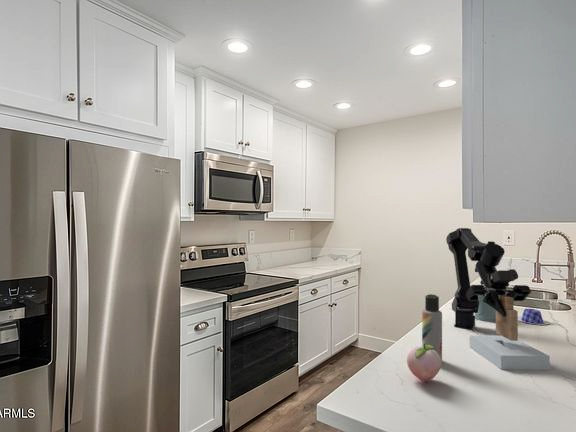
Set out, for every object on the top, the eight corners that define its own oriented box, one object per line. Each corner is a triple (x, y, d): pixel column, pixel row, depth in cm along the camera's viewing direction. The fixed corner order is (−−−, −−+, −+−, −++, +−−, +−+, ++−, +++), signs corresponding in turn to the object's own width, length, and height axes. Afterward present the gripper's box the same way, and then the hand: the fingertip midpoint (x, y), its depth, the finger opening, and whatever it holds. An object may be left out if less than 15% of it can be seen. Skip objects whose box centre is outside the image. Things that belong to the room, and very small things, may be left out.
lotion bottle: (441, 358, 110) (441, 294, 111) (442, 365, 105) (442, 297, 105) (421, 355, 112) (421, 292, 113) (422, 362, 107) (422, 296, 107)
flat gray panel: (469, 347, 120) (469, 335, 120) (510, 347, 120) (510, 335, 120) (500, 369, 102) (500, 355, 102) (549, 369, 102) (549, 355, 102)
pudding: (556, 326, 146) (556, 313, 146) (525, 325, 147) (525, 313, 147) (538, 318, 158) (538, 306, 158) (510, 317, 159) (509, 306, 159)
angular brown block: (495, 332, 115) (495, 294, 116) (501, 332, 115) (501, 294, 116) (511, 340, 107) (510, 299, 108) (517, 340, 107) (517, 299, 108)
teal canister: (501, 319, 155) (501, 292, 156) (495, 324, 148) (495, 295, 148) (476, 315, 162) (476, 288, 162) (469, 319, 155) (469, 292, 155)
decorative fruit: (414, 371, 101) (414, 336, 101) (444, 379, 96) (444, 342, 96) (401, 382, 93) (401, 344, 94) (433, 392, 88) (433, 352, 88)
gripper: (470, 260, 116) (489, 301, 105) (527, 260, 116) (552, 302, 104) (458, 280, 123) (475, 320, 112) (512, 280, 123) (534, 321, 112)
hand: (509, 316), depth 110 cm, fingers closed on angular brown block, 2 cm apart
